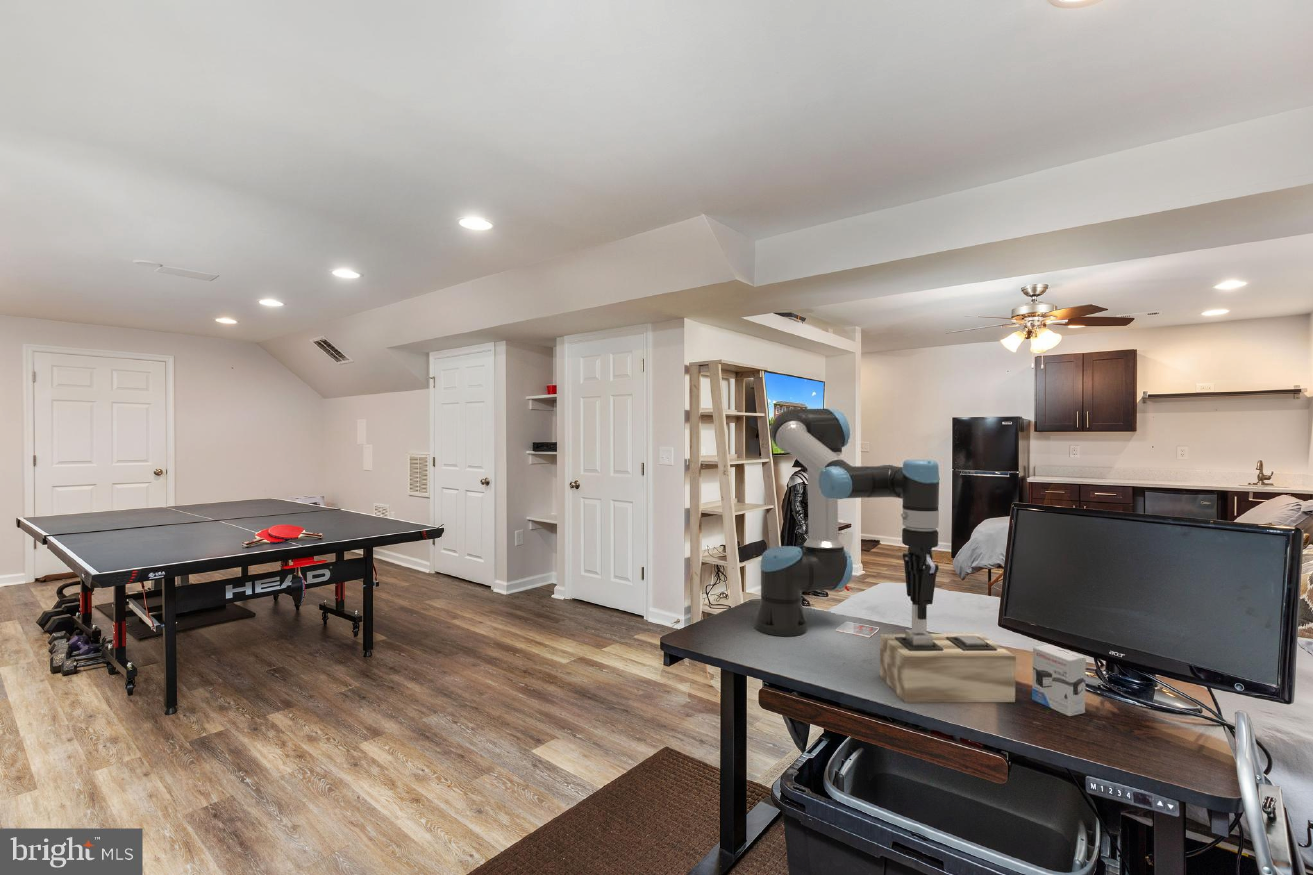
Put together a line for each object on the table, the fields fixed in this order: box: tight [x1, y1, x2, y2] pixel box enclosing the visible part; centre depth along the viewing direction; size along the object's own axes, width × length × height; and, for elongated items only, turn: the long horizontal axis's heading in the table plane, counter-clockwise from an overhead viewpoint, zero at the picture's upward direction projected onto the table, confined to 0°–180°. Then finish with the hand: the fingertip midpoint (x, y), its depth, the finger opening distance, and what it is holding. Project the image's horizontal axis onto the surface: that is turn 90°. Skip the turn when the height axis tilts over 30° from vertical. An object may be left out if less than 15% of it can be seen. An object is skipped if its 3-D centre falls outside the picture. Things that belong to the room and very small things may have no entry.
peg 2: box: [956, 636, 986, 647], centre depth 137 cm, size 4×4×9 cm
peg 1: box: [904, 629, 933, 647], centre depth 137 cm, size 4×4×9 cm
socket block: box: [879, 633, 1017, 704], centre depth 137 cm, size 14×24×10 cm, turn 91°
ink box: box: [1031, 644, 1087, 717], centre depth 129 cm, size 8×5×12 cm, turn 21°
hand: (919, 631), depth 137 cm, fingers closed
